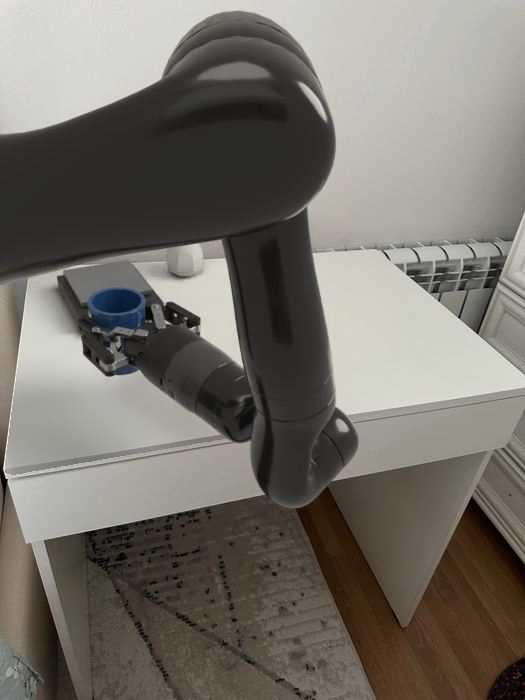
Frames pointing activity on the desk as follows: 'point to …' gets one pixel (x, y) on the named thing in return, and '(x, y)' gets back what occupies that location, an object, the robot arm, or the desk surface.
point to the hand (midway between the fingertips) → (108, 310)
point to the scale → (78, 309)
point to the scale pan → (104, 279)
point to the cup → (118, 313)
